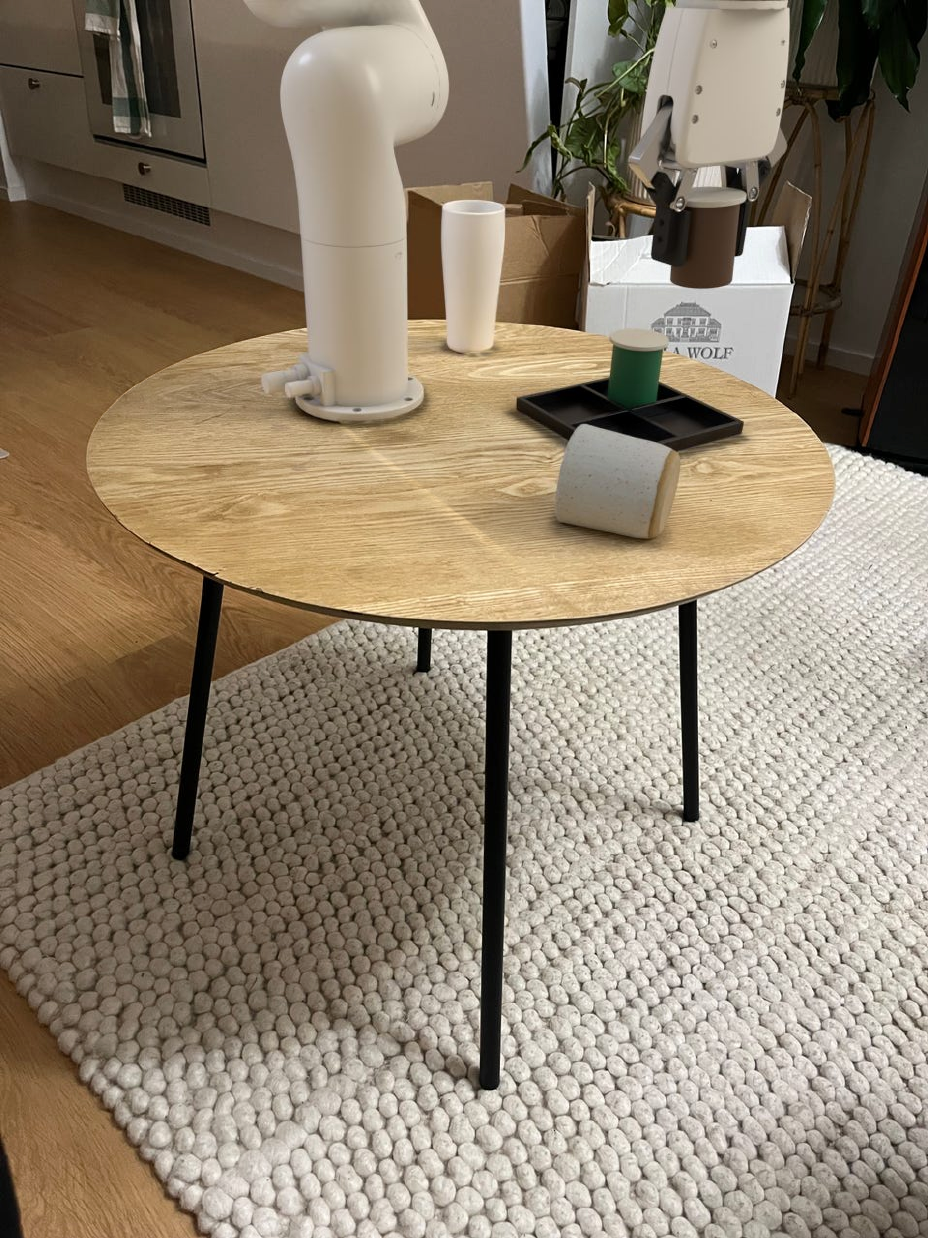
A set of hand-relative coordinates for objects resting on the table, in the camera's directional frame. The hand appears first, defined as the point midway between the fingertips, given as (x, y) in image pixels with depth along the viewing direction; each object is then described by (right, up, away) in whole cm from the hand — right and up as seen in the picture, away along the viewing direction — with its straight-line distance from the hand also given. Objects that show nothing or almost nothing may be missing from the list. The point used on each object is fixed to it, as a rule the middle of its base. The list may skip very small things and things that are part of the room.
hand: (696, 255), depth 78 cm
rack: (-3, -10, +17) cm, 20 cm away
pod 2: (+1, -2, +1) cm, 2 cm away
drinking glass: (-17, +2, +34) cm, 39 cm away
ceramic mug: (-6, -21, +1) cm, 22 cm away
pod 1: (-2, -7, +21) cm, 22 cm away
